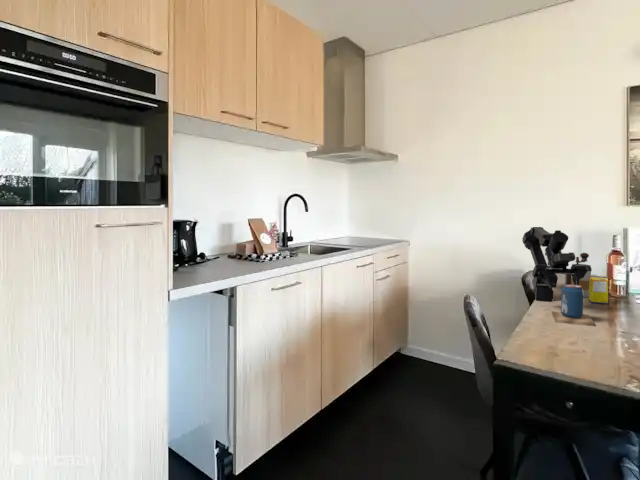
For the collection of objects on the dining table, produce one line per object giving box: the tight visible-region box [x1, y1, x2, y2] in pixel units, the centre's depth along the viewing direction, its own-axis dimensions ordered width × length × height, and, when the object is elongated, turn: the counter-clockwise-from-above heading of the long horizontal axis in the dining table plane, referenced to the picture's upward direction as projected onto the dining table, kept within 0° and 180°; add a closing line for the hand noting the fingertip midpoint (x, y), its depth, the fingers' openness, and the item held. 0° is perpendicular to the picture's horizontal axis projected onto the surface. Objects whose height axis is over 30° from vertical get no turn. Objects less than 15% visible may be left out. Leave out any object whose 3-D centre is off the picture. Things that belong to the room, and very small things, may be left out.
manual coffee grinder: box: [564, 252, 590, 285], centre depth 197 cm, size 16×11×18 cm
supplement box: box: [588, 277, 609, 305], centre depth 166 cm, size 6×6×11 cm
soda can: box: [560, 283, 584, 319], centre depth 142 cm, size 7×7×12 cm
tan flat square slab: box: [551, 311, 595, 327], centre depth 142 cm, size 12×12×1 cm
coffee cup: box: [570, 263, 592, 299], centre depth 178 cm, size 8×8×15 cm
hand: (564, 288), depth 149 cm, fingers open, 9 cm apart
